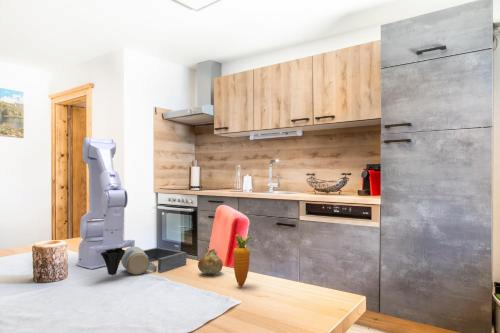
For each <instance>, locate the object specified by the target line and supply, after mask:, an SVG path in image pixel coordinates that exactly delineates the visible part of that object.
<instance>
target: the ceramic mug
mask: <svg viewBox="0 0 500 333" xmlns="http://www.w3.org/2000/svg"><path fill="white" fill-rule="evenodd" d="M124 250H125V254H124V255H123V257H122V259H121V261H120V263H121V265H122V268H124V269H125V270H126V271H127V272H128V273H130V274H131V275H134V276H136V275H141V274H143V273H145V272H146V271H147V270H148V271H152V272H155V271H156V269H158V265H156V264H155V263H154V262H149V259H148V256H147V255H146V254H145V253H144V251H143V249H142V248H140V247H138V246H134V247H127V248H126V249H124Z"/></svg>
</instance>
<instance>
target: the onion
mask: <svg viewBox="0 0 500 333" xmlns="http://www.w3.org/2000/svg"><path fill="white" fill-rule="evenodd" d="M223 267H224V265H223V260H222V259H221V258H220V257H219V256H218V251H217V250H215V248H211V249H210V250H209V251H207V253H205V255H203V256H202V257H201V258H200V259H199V260H198V262H197V268H198V270H199V271H200V273H202V274H204V275H205V276H215V275H217V274H219V273H220V272H221V271H222V269H223Z"/></svg>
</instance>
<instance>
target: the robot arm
mask: <svg viewBox="0 0 500 333" xmlns="http://www.w3.org/2000/svg"><path fill="white" fill-rule="evenodd" d="M116 150H117V143H116V141H115V139H113V138H111V139H109V138H96V137H88V136H87V137H85V138H84V139H83V141H82V152H81V153H82V162H84V163H85V164H86V165H88V166H87V168H88V186H89V187H88V192H89V196H88V197H89V199H88V201H89V202H88V203H89V206H88V207H89V210H88V211H87V213H86V212H85V214H84V215H82V216H81V218H80V224H79V236H80V238H81V239H82V240H81V241H80V242H79V245H78V255H77V256H78V258H77V259H78V260H77V261H78V262H76V263H75V266H78V267H82V268H86V269H90V270H94V269H98V268H102V267H106V269H107V270H106V271H107V274H108V275H110V276H115V275H117V272H118V269H119V266H120V263H121V259H122V257H123V255H124V254H125V250H126V249H127V248H130V247H136V246H135V240H134V239H126V240H124V230H125V229H124V228H125V224H124V223H125V208H127V206H128V200H129V198H128V192H127V189H126V188H125V187H124V186H122V183H121V179H120V174H119V173H118V171H116V170H115V169H114V163H113V162H114V161H113V159H114V156H115V155H116ZM125 248H126V249H125Z"/></svg>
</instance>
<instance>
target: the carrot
mask: <svg viewBox="0 0 500 333" xmlns="http://www.w3.org/2000/svg"><path fill="white" fill-rule="evenodd" d="M235 238H236V242H235V244H236V245H237V247H235V248H233V271H234V277H235V279H236V283H237V285H238V286H239V288H243V286H244V285H245V283H246V282H247V279H248V275H249V274H248V273H249V267H250V256H251V255H250V254H251V253H250V249H249V248H248V247H246V245H247V243H248V242H249V240H250V239H251V237H250V236H249V235H247V236H246V238H243V237H242V235H240V236H239V234H236V235H235Z"/></svg>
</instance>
